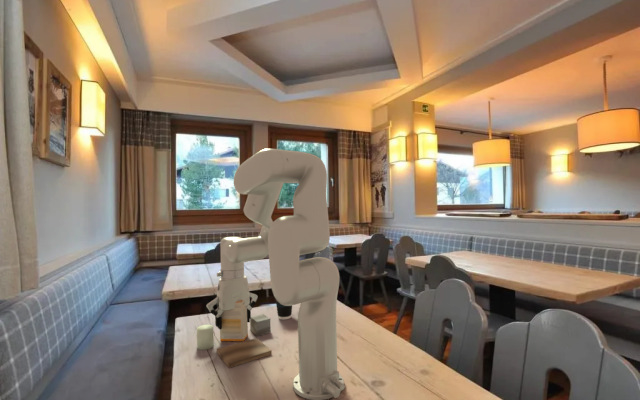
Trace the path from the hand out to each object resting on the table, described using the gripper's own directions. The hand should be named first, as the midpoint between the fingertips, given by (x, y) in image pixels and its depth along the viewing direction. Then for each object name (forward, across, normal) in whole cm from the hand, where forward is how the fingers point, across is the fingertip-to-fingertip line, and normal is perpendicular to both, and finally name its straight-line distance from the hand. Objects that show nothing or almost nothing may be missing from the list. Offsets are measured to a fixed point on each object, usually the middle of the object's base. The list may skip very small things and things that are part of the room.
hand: (233, 324), depth 110 cm
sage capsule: (+5, -9, 0) cm, 11 cm away
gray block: (+5, +10, 0) cm, 11 cm away
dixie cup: (+5, +23, +7) cm, 25 cm away
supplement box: (+5, 0, 0) cm, 5 cm away
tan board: (+4, -1, -13) cm, 14 cm away
